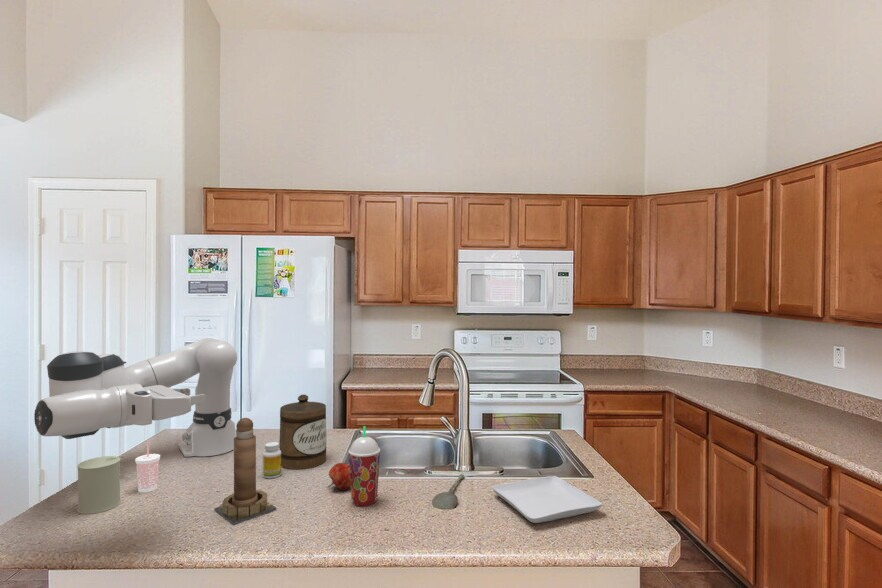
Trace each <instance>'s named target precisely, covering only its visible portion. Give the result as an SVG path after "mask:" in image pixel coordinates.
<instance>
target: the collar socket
mask: <svg viewBox="0 0 882 588" xmlns="http://www.w3.org/2000/svg"><path fill="white" fill-rule="evenodd" d="M256 493H257V494H258V501H257V502H255V503H252V504H249V505H241V506H237V505H232V497H233V496H234V493H232V494H229V495H228V496H225V498H223V501H222V503H221V504H220V505H219V506H218V507H214V512H216V513H217V514H218V513H219V514H218V515H220V516H221V517H222V518H224V519H225V520H226V521H227V522H228V523H230V524H231V525H233V526H234V525H238V524H241V523H243V522H246V521H249V520H251V519H254V518H257V517H260V516H263V515H265V514H268V513H271V512H273V511H277V507H276V506H275V505H273V504H272V503H271V502H269V501H268V493H267V492H265V491H263V490H258V489H256Z"/></svg>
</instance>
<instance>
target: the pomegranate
mask: <svg viewBox="0 0 882 588" xmlns="http://www.w3.org/2000/svg"><path fill="white" fill-rule="evenodd" d="M328 476H329V478H330V479H331V484H330V485H327V488H330V487H331V486H333V485H335V486H336V487H337V488H338V489H339V490H341V491H342V490H347V489H349V488H351V482H350V466H349V464H348V463H345V462H338V463H336V464H334V465H333V466H332V467H331V468H330V469H329V472H328Z"/></svg>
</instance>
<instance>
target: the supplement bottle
mask: <svg viewBox="0 0 882 588" xmlns="http://www.w3.org/2000/svg"><path fill="white" fill-rule="evenodd" d="M279 443H280V442H279V441H278V442H277V441H271V442H266V444H265V445H264V451H263V453H262V477H263V478H264V479H275V478H278V477H280V476H281V475H282V466H281V451H280V450H279Z"/></svg>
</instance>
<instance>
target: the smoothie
mask: <svg viewBox="0 0 882 588" xmlns="http://www.w3.org/2000/svg"><path fill="white" fill-rule="evenodd" d="M362 427H363V428H362V431H363V432H362V436H360V437H359V436H358V438H356V439H355V440H354V441H352V444H351V446H350V448H349V449H348V461H349V462H348V463H349V464H348V465H349V466H350V482H351V486H350V495H351V496H350V497H351V500H352V502H353V504H354V505H356V506H360V507H366V506H370V505H372V504H374V503H375V502H376V499H377V498H378V490H379V473H380V472H379V471H380V455H381V448H380V447H379V445H378V443H377V441H376V440H375V439H374V438H373V437H370V436H366V435H367V434H366V430H367V429H366V426H365V425H363V426H362Z"/></svg>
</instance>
